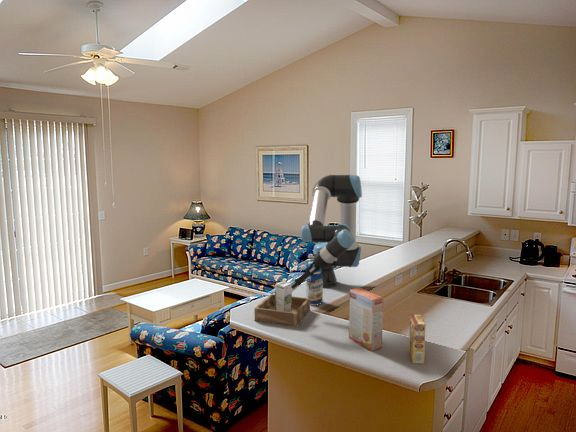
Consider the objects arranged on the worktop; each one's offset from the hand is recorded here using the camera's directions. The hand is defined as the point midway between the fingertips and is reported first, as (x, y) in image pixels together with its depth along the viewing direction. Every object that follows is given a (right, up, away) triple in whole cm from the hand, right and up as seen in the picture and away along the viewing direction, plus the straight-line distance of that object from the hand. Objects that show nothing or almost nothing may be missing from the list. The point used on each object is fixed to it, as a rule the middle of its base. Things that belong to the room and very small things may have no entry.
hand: (293, 286), depth 193 cm
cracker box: (+29, -19, -23) cm, 41 cm away
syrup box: (-5, -13, +5) cm, 15 cm away
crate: (-5, -14, +5) cm, 16 cm away
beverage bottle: (+11, -12, +20) cm, 26 cm away
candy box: (+45, -21, -35) cm, 61 cm away
